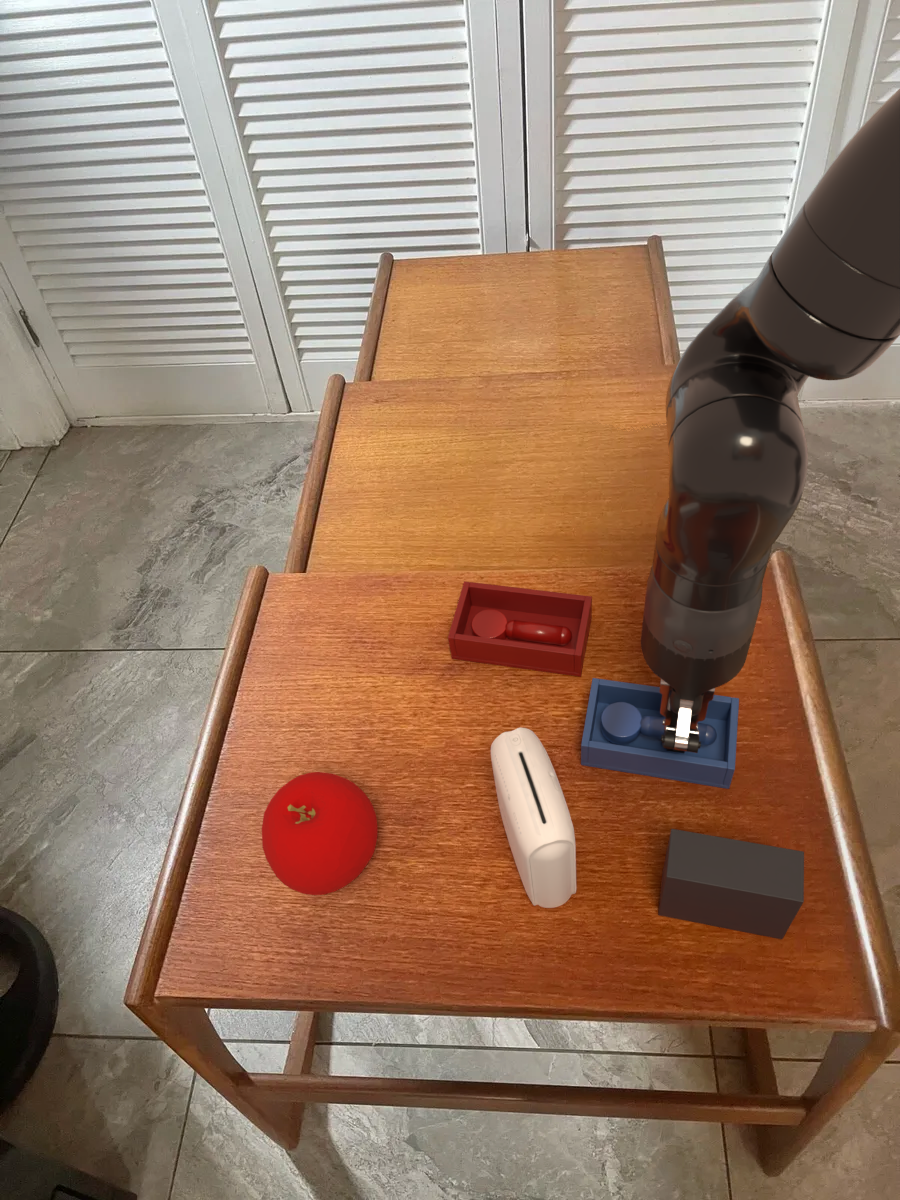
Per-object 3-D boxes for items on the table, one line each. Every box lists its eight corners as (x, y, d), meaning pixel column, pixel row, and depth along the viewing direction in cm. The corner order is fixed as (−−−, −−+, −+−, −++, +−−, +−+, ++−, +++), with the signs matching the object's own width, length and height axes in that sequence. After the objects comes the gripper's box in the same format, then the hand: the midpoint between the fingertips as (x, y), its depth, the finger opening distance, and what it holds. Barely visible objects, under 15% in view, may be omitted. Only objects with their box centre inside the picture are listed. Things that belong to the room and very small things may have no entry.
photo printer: (493, 798, 76) (480, 725, 66) (541, 784, 76) (536, 709, 67) (530, 916, 70) (522, 854, 60) (583, 900, 70) (584, 836, 60)
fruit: (294, 796, 78) (262, 740, 70) (395, 808, 76) (374, 751, 69) (263, 901, 73) (225, 853, 65) (371, 916, 71) (346, 869, 63)
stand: (783, 892, 69) (804, 851, 62) (782, 939, 67) (803, 902, 60) (662, 870, 71) (671, 828, 64) (658, 915, 69) (666, 876, 62)
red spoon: (574, 628, 85) (574, 616, 84) (569, 657, 83) (569, 646, 82) (476, 615, 87) (475, 604, 86) (469, 644, 85) (467, 633, 84)
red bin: (591, 618, 86) (592, 596, 83) (581, 677, 82) (581, 655, 80) (467, 603, 89) (464, 580, 86) (451, 659, 85) (447, 637, 82)
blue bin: (733, 719, 78) (739, 697, 75) (729, 789, 74) (735, 769, 71) (592, 698, 81) (592, 677, 78) (580, 765, 77) (581, 745, 74)
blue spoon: (716, 724, 76) (719, 713, 75) (714, 759, 74) (716, 749, 73) (603, 707, 78) (604, 696, 77) (598, 741, 76) (598, 731, 75)
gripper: (752, 703, 57) (717, 817, 71) (760, 542, 65) (727, 673, 79) (632, 686, 59) (621, 801, 73) (654, 531, 67) (640, 661, 81)
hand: (676, 734), depth 76 cm, fingers closed on blue spoon, 1 cm apart
